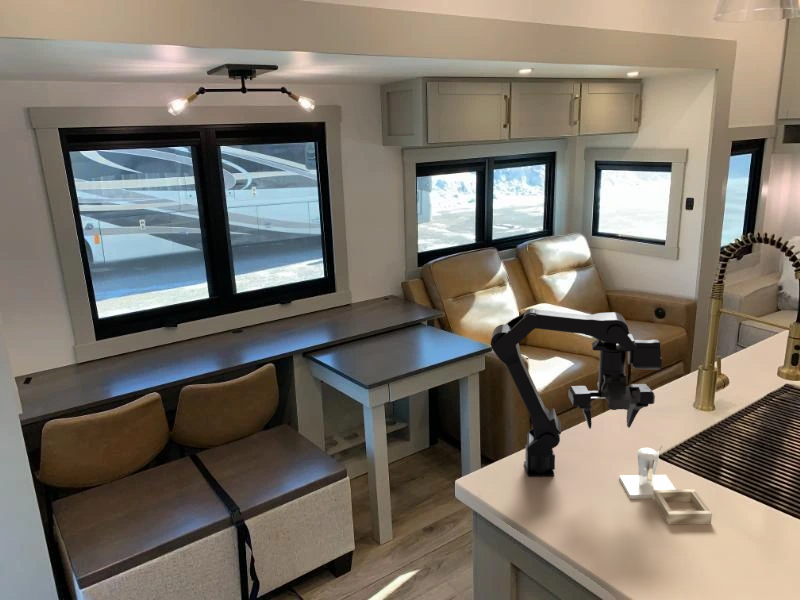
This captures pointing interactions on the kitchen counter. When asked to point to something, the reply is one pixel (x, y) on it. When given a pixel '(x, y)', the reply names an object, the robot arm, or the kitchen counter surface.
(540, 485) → the kitchen counter surface
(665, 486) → the pad
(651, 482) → the milkshake
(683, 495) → the holder
